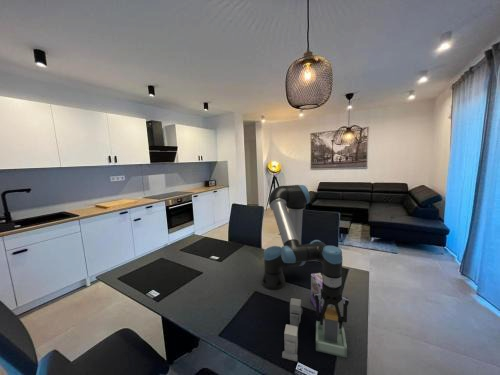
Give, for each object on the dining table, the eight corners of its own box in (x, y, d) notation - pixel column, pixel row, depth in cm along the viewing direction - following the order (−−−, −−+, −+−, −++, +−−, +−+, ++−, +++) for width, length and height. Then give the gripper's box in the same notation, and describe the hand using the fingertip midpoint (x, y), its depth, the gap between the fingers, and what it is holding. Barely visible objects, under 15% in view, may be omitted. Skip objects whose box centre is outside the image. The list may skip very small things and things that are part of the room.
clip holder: (282, 357, 85) (282, 344, 85) (290, 309, 112) (290, 299, 111) (297, 361, 84) (297, 348, 83) (302, 312, 110) (302, 301, 109)
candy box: (310, 299, 120) (310, 273, 117) (320, 299, 120) (320, 272, 118) (320, 318, 106) (320, 288, 104) (331, 317, 106) (332, 287, 104)
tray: (315, 350, 88) (315, 342, 88) (316, 328, 99) (316, 320, 99) (346, 358, 84) (347, 349, 84) (343, 334, 96) (343, 326, 95)
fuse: (324, 339, 90) (325, 314, 88) (324, 330, 94) (324, 306, 93) (337, 342, 88) (337, 316, 87) (336, 333, 93) (336, 308, 91)
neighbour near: (284, 352, 88) (284, 333, 87) (286, 342, 93) (286, 324, 91) (296, 355, 86) (296, 336, 85) (297, 345, 91) (297, 326, 90)
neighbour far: (290, 320, 105) (289, 304, 104) (291, 313, 109) (291, 297, 108) (300, 322, 103) (300, 306, 102) (301, 315, 108) (301, 299, 107)
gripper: (309, 284, 87) (308, 334, 91) (356, 292, 82) (354, 345, 85) (309, 275, 94) (309, 321, 98) (353, 281, 89) (351, 330, 92)
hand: (330, 332), depth 91 cm, fingers closed on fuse, 5 cm apart
